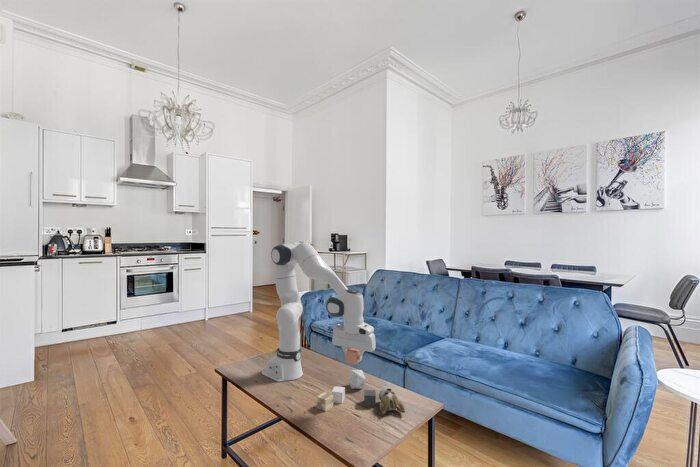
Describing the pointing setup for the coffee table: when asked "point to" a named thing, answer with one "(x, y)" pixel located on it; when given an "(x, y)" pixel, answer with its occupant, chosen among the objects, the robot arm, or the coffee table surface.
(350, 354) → the terracotta cube
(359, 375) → the die
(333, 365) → the coffee table surface
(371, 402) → the black cube
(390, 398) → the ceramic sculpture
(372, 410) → the coffee table surface
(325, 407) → the birch cube
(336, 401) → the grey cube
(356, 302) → the robot arm
